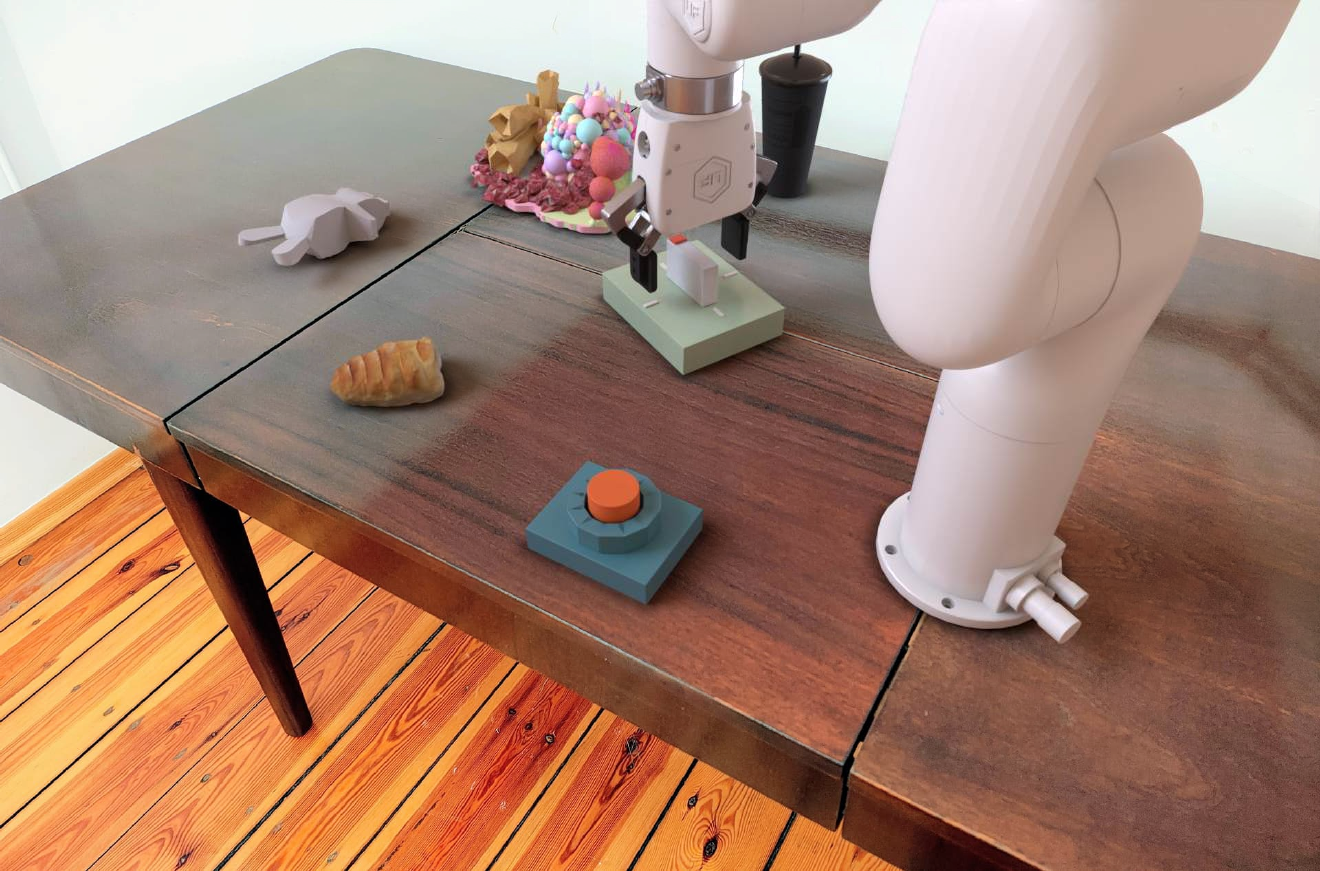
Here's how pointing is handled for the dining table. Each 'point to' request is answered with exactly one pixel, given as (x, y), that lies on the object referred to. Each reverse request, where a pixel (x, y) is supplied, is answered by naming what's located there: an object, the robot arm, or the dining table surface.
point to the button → (613, 496)
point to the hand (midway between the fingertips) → (689, 268)
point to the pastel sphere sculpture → (559, 156)
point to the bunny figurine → (322, 225)
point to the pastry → (391, 375)
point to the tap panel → (695, 314)
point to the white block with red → (692, 270)
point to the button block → (616, 535)
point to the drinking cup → (791, 116)
